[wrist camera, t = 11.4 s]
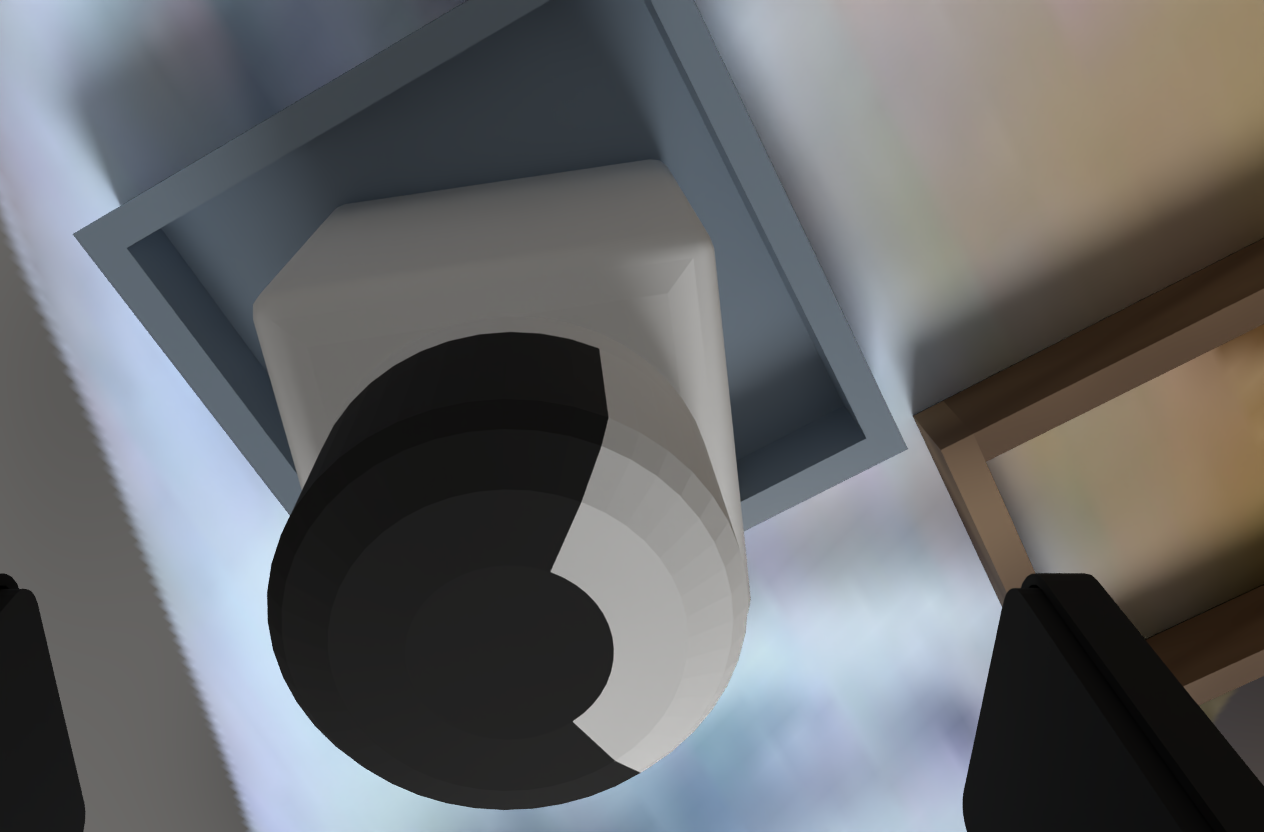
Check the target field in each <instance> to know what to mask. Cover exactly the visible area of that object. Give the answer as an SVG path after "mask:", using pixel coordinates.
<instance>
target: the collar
mask: <svg viewBox="0 0 1264 832" xmlns="http://www.w3.org/2000/svg"><path fill="white" fill-rule="evenodd" d="M1262 324H1264V239H1262V240H1260V241H1258V242H1256V243H1254V244H1252V245H1250V246H1248V247H1246V248H1244V249H1242V250H1240V251H1238V252H1236V253H1234V254H1232V255H1230V256H1228V257H1226V258H1224V259H1222V260H1220V261H1218V262H1216V263H1214V264H1212V265H1210V266H1208V267H1206V268H1204V269H1202V270H1200V271H1198V272H1196V273H1194V274H1192V275H1191V276H1189V277H1187V278H1185V279H1183V280H1181V281H1179V282H1177V283H1175V284H1173V285H1171V286H1169V287H1167V288H1165V289H1163V290H1161V291H1159V292H1157V293H1155V294H1153V295H1151V296H1149V297H1147V298H1145V299H1143V300H1141V301H1139V302H1137V303H1135V304H1133V305H1131V306H1129V307H1127V308H1125V309H1123V310H1121V311H1119V312H1117V313H1115V314H1113V315H1111V316H1110V317H1108V318H1106V319H1104V320H1102V321H1100V322H1098V323H1096V324H1094V325H1092V326H1090V327H1088V328H1086V329H1084V330H1082V331H1080V332H1078V333H1076V334H1074V335H1072V336H1070V337H1068V338H1066V339H1064V340H1062V341H1060V342H1058V343H1056V344H1054V345H1052V346H1050V347H1048V348H1046V349H1044V350H1042V351H1040V352H1038V353H1036V354H1034V355H1032V356H1030V357H1029V358H1027V359H1025V360H1023V361H1021V362H1019V363H1017V364H1015V365H1013V366H1011V367H1009V368H1007V369H1005V370H1003V371H1001V372H999V373H997V374H995V375H993V376H991V377H989V378H987V379H985V380H983V381H981V382H979V383H977V384H975V385H973V386H971V387H969V388H967V389H965V390H963V391H961V392H959V393H957V394H955V395H953V396H951V397H949V398H948V399H946V400H944V401H942V402H940V403H938V404H936V405H934V406H932V407H930V408H928V409H926V410H924V411H922V412H920V413H918V414H916V415H914V416H913V417H914V419H915V422H916V424H917V426H918V428H919V430H920V432H921V434H922V436H923V439H924V441H925V443H926V445H927V447H928V449H929V451H930V454H931V456H932V458H933V460H934V462H935V464H936V466H937V469H938V471H939V473H940V475H941V477H942V479H943V481H944V484H945V486H946V488H947V490H948V492H949V494H950V496H951V498H952V501H953V503H954V505H955V507H956V509H957V511H958V513H959V516H960V518H961V520H962V522H963V524H964V526H965V528H966V531H967V533H968V535H969V537H970V539H971V541H972V543H973V546H974V548H975V550H976V552H977V554H978V556H979V558H980V560H981V563H982V565H983V567H984V569H985V571H986V573H987V575H988V578H989V580H990V582H991V584H992V586H993V588H994V590H995V593H996V595H997V597H998V599H999V601H1000V603H1001V605H1002V606H1003V602H1004V598H1005V595H1006V594H1007V592H1008V591H1009V590H1010V589H1012V588H1021V586H1022V583H1023V581H1024V580H1025V578H1026V577H1027V576H1028V575H1030V574H1032V573H1035V571H1034V569H1033V567H1032V565H1031V562H1030V560H1029V558H1028V556H1027V553H1026V551H1025V549H1024V547H1023V544H1022V542H1021V540H1020V538H1019V535H1018V533H1017V531H1016V529H1015V526H1014V524H1013V522H1012V520H1011V517H1010V515H1009V513H1008V511H1007V508H1006V506H1005V504H1004V502H1003V499H1002V497H1001V495H1000V493H999V490H998V488H997V486H996V484H995V481H994V479H993V477H992V475H991V472H990V470H989V468H988V466H987V463H986V461H988V460H990V459H992V458H994V457H996V456H998V455H1000V454H1002V453H1004V452H1006V451H1008V450H1010V449H1012V448H1014V447H1016V446H1018V445H1020V444H1022V443H1024V442H1026V441H1029V440H1031V439H1033V438H1035V437H1037V436H1039V435H1041V434H1043V433H1045V432H1047V431H1049V430H1051V429H1053V428H1055V427H1057V426H1059V425H1061V424H1063V423H1065V422H1067V421H1069V420H1071V419H1073V418H1075V417H1077V416H1079V415H1081V414H1083V413H1085V412H1087V411H1089V410H1091V409H1093V408H1095V407H1097V406H1099V405H1101V404H1103V403H1105V402H1107V401H1109V400H1111V399H1113V398H1115V397H1117V396H1119V395H1121V394H1123V393H1125V392H1127V391H1129V390H1131V389H1133V388H1135V387H1137V386H1139V385H1141V384H1143V383H1145V382H1148V381H1150V380H1152V379H1154V378H1156V377H1158V376H1160V375H1162V374H1164V373H1166V372H1168V371H1170V370H1172V369H1174V368H1176V367H1178V366H1180V365H1182V364H1184V363H1186V362H1188V361H1190V360H1192V359H1194V358H1196V357H1198V356H1200V355H1202V354H1204V353H1206V352H1208V351H1210V350H1212V349H1214V348H1216V347H1218V346H1220V345H1222V344H1224V343H1226V342H1228V341H1230V340H1232V339H1234V338H1236V337H1238V336H1240V335H1242V334H1244V333H1246V332H1248V331H1250V330H1252V329H1254V328H1256V327H1258V326H1260V325H1262ZM1146 641H1147V642H1148V644H1149V645H1150V646H1151V647H1152V649H1153V650H1154V651H1155V652H1156V654H1157V655H1158V656H1159V657H1160V659H1161V660H1162V661H1163V662H1164V663H1165V665H1166V666H1167V667H1168V668H1169V670H1170V671H1171V672H1172V673H1173V675H1174V676H1175V677H1176V678H1177V680H1178V681H1179V682H1180V683H1181V684H1182V686H1183V687H1184V688H1185V689H1186V691H1187V692H1188V693H1189V694H1190V696H1191V697H1192V698H1193V699H1194V701H1195V702H1196V703H1197V704H1198V705H1200V704H1203V703H1205V702H1207V701H1209V700H1211V699H1214V698H1216V697H1218V696H1220V695H1222V694H1225V693H1227V692H1229V691H1231V690H1233V689H1236V688H1238V687H1240V686H1242V685H1244V684H1247V683H1249V682H1251V681H1253V680H1256V679H1258V678H1260V677H1262V676H1264V585H1263V586H1261V587H1258V588H1256V589H1254V590H1252V591H1250V592H1248V593H1245V594H1243V595H1241V596H1239V597H1237V598H1235V599H1233V600H1230V601H1228V602H1226V603H1224V604H1222V605H1220V606H1217V607H1215V608H1213V609H1211V610H1209V611H1207V612H1205V613H1202V614H1200V615H1198V616H1196V617H1194V618H1192V619H1189V620H1187V621H1185V622H1183V623H1181V624H1179V625H1177V626H1174V627H1172V628H1170V629H1168V630H1166V631H1164V632H1161V633H1159V634H1157V635H1155V636H1153V637H1151V638H1149V639H1146Z"/></svg>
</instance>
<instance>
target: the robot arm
mask: <svg viewBox="0 0 1264 832" xmlns="http://www.w3.org/2000/svg"><path fill="white" fill-rule="evenodd" d="M963 816H964V822H965V826H966V830H967V832H1264V786H1263V785H1262V783H1261V782H1260V781H1259V780H1258V778H1257V777H1256V776H1255V775H1254V774H1253V772H1252V771H1251V770H1250V769H1249V767H1248V766H1247V765H1246V764H1245V762H1244V761H1243V760H1242V759H1241V757H1240V756H1239V755H1238V754H1237V752H1236V751H1235V750H1234V749H1233V748H1232V746H1231V745H1230V744H1229V743H1228V741H1227V740H1226V739H1225V738H1224V736H1223V735H1222V734H1221V733H1220V731H1219V730H1218V729H1217V728H1216V726H1215V725H1214V724H1213V723H1212V722H1211V720H1210V719H1209V718H1208V717H1207V715H1206V714H1205V713H1204V712H1203V710H1202V709H1201V708H1200V707H1199V705H1198V704H1197V703H1196V702H1195V701H1194V699H1193V698H1192V697H1191V696H1190V694H1189V693H1188V692H1187V691H1186V689H1185V688H1184V687H1183V686H1182V684H1181V683H1180V682H1179V681H1178V680H1177V678H1176V677H1175V676H1174V675H1173V673H1172V672H1171V671H1170V670H1169V668H1168V667H1167V666H1166V665H1165V663H1164V662H1163V661H1162V660H1161V659H1160V657H1159V656H1158V655H1157V654H1156V652H1155V651H1154V650H1153V649H1152V647H1151V646H1150V645H1149V644H1148V642H1147V641H1146V640H1145V639H1144V638H1143V636H1142V635H1141V634H1140V633H1139V631H1138V630H1137V629H1136V628H1135V626H1134V625H1133V624H1132V623H1131V621H1130V620H1129V619H1128V618H1127V616H1126V615H1125V614H1124V613H1123V612H1122V610H1121V609H1120V608H1119V607H1118V605H1117V604H1116V603H1115V602H1114V600H1113V599H1112V598H1111V597H1110V595H1109V594H1108V593H1107V592H1106V591H1105V589H1104V588H1103V587H1102V586H1101V584H1100V583H1099V582H1098V581H1097V580H1096V579H1095V578H1094V577H1093V576H1092V575H1089V574H1085V573H1032V574H1030V575H1028V576H1027V577H1026V578H1025V580H1024V581H1023V583H1022V586H1021V588H1012V589H1010V590H1009V591H1008V592H1007V594H1006V595H1005V598H1004V602H1003V606H1002V611H1001V616H1000V620H999V625H998V630H997V635H996V640H995V644H994V649H993V654H992V659H991V663H990V668H989V673H988V678H987V683H986V687H985V692H984V697H983V702H982V707H981V711H980V716H979V721H978V726H977V730H976V735H975V740H974V745H973V750H972V754H971V759H970V764H969V769H968V773H967V778H966V783H965V788H964V793H963ZM84 824H85V805H84V800H83V796H82V791H81V787H80V783H79V779H78V774H77V770H76V766H75V762H74V757H73V753H72V749H71V744H70V740H69V736H68V731H67V727H66V723H65V719H64V714H63V710H62V706H61V701H60V697H59V693H58V689H57V685H56V680H55V676H54V672H53V667H52V663H51V659H50V655H49V650H48V646H47V641H46V637H45V633H44V629H43V624H42V620H41V616H40V612H39V607H38V603H37V601H36V598H35V596H34V594H33V593H32V592H31V591H30V590H27V589H19V588H18V585H17V583H16V582H15V580H14V579H13V578H12V577H11V576H9V575H7V574H0V832H83V830H84Z"/></svg>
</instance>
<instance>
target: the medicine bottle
mask: <svg viewBox="0 0 1264 832" xmlns="http://www.w3.org/2000/svg"><path fill="white" fill-rule="evenodd" d="M253 321H254V325H255V328H256V332H257V335H258V339H259V342H260V346H261V349H262V353H263V356H264V360H265V363H266V367H267V370H268V374H269V377H270V381H271V384H272V388H273V391H274V395H275V398H276V402H277V405H278V409H279V412H280V416H281V419H282V423H283V426H284V430H285V433H286V437H287V440H288V444H289V447H290V451H291V454H292V458H293V461H294V465H295V468H296V472H297V475H298V479H299V482H300V486H301V489H302V491H301V493H300V496H299V498H298V500H297V502H296V504H295V506H294V508H293V510H292V513H291V515H290V517H289V519H288V521H287V523H286V525H285V527H284V530H283V532H282V534H281V536H280V539H279V543H278V546H277V549H276V552H275V555H274V558H273V561H272V564H271V571H270V578H269V584H268V591H267V605H268V625H269V630H270V636H271V641H272V646H273V651H274V654H275V656H276V659H277V662H278V665H279V667H280V670H281V673H282V676H283V678H284V680H285V682H286V683H287V685H288V687H289V689H290V691H291V692H292V694H293V696H294V698H295V700H296V702H297V703H298V704H299V706H300V707H301V708H302V710H303V711H304V712H305V714H306V715H307V716H308V717H309V719H310V720H311V721H312V723H313V724H314V725H315V726H316V727H317V728H318V729H319V730H320V731H321V732H322V733H323V734H324V735H325V736H326V737H327V738H328V739H329V740H330V741H331V742H332V743H333V744H334V745H335V746H336V747H337V748H339V749H340V750H341V751H343V752H344V753H345V754H347V755H348V756H349V757H351V758H352V759H353V760H354V761H356V762H357V763H358V764H360V765H361V766H363V767H364V768H366V769H367V770H369V771H371V772H372V773H374V774H376V775H378V776H379V777H381V778H383V779H385V780H386V781H388V782H390V783H392V784H394V785H396V786H399V787H401V788H403V789H406V790H408V791H410V792H413V793H415V794H418V795H421V796H424V797H427V798H431V799H434V800H438V801H441V802H445V803H449V804H455V805H460V806H466V807H472V808H483V809H499V810H511V809H533V808H539V807H546V806H552V805H559V804H564V803H567V802H571V801H575V800H578V799H582V798H586V797H589V796H592V795H594V794H597V793H600V792H602V791H605V790H607V789H610V788H612V787H615V786H617V785H619V784H621V783H622V782H624V781H626V780H628V779H630V778H632V777H634V776H635V775H637V774H639V773H641V772H643V771H644V770H646V769H648V768H649V767H651V766H652V765H653V764H655V763H656V762H658V761H659V760H660V759H662V758H663V757H665V756H666V755H668V754H669V753H670V752H672V751H673V750H674V749H675V748H676V747H677V746H679V745H680V744H681V743H682V742H683V741H684V740H685V739H686V738H687V737H688V736H689V735H691V734H692V733H693V732H694V731H695V730H696V728H697V727H698V726H699V725H700V724H701V722H702V721H703V720H704V719H705V718H706V716H707V715H708V714H709V713H710V712H711V710H712V709H713V708H714V706H715V704H716V703H717V701H718V700H719V698H720V696H721V695H722V693H723V692H724V690H725V688H726V687H727V685H728V683H729V680H730V678H731V676H732V673H733V671H734V669H735V667H736V664H737V662H738V659H739V656H740V652H741V648H742V644H743V640H744V637H745V632H746V622H747V614H748V611H749V606H750V600H751V597H750V587H749V578H748V568H747V559H746V549H745V539H744V530H743V520H742V511H741V501H740V491H739V482H738V472H737V463H736V453H735V443H734V434H733V424H732V415H731V405H730V395H729V386H728V376H727V367H726V357H725V347H724V338H723V328H722V318H721V309H720V299H719V290H718V280H717V270H716V261H715V251H714V246H713V244H712V241H711V239H710V236H709V235H708V233H707V231H706V230H705V228H704V226H703V225H702V223H701V221H700V220H699V218H698V217H697V215H696V213H695V212H694V210H693V208H692V207H691V205H690V203H689V202H688V200H687V198H686V197H685V195H684V193H683V192H682V190H681V189H680V187H679V185H678V184H677V182H676V180H675V179H674V177H673V175H672V174H671V172H670V170H669V169H668V167H667V166H666V165H665V164H664V163H662V162H661V161H660V160H653V159H648V160H641V161H635V162H628V163H621V164H614V165H608V166H601V167H594V168H587V169H580V170H574V171H567V172H560V173H553V174H546V175H540V176H533V177H526V178H519V179H512V180H506V181H499V182H492V183H485V184H478V185H472V186H465V187H458V188H451V189H445V190H438V191H431V192H424V193H417V194H411V195H404V196H397V197H390V198H383V199H377V200H370V201H363V202H356V203H349V204H344V205H342V206H339V207H337V208H336V209H335V210H334V211H333V212H332V213H331V214H330V215H329V217H328V218H327V219H326V220H325V221H324V222H323V223H322V224H321V226H320V227H319V228H318V229H317V230H316V231H315V232H314V233H313V235H312V236H311V237H310V238H309V239H308V240H307V241H306V243H305V244H304V245H303V246H302V247H301V248H300V249H299V250H298V252H297V253H296V254H295V255H294V256H293V257H292V258H291V260H290V261H289V262H288V263H287V264H286V265H285V266H284V267H283V269H282V270H281V271H280V272H279V273H278V274H277V275H276V276H275V278H274V279H273V280H272V281H271V282H270V283H269V284H268V286H267V287H266V288H265V289H264V290H263V291H262V292H261V293H260V295H259V296H258V298H257V299H256V301H255V302H254V304H253Z"/></svg>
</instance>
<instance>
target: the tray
mask: <svg viewBox="0 0 1264 832" xmlns="http://www.w3.org/2000/svg"><path fill="white" fill-rule="evenodd" d="M648 159H653V160H660V161H661V162H662V163H664V164H665V165H666V166H667V167H668V169H669V170H670V172H671V174H672V175H673V177H674V179H675V180H676V182H677V184H678V185H679V187H680V189H681V190H682V192H683V193H684V195H685V197H686V198H687V200H688V202H689V203H690V205H691V207H692V208H693V210H694V212H695V213H696V215H697V217H698V218H699V220H700V221H701V223H702V225H703V226H704V228H705V230H706V231H707V233H708V235H709V236H710V239H711V241H712V244H713V246H714V251H715V261H716V270H717V280H718V290H719V299H720V309H721V318H722V328H723V338H724V347H725V357H726V367H727V376H728V386H729V395H730V405H731V415H732V424H733V434H734V443H735V453H736V463H737V472H738V482H739V491H740V501H741V511H742V520H743V530H744V531H746V530H748V529H749V528H751V527H753V526H755V525H757V524H759V523H761V522H763V521H765V520H767V519H769V518H771V517H773V516H775V515H777V514H779V513H781V512H783V511H785V510H787V509H789V508H791V507H793V506H795V505H797V504H799V503H801V502H803V501H805V500H807V499H809V498H811V497H813V496H815V495H817V494H819V493H821V492H823V491H825V490H827V489H829V488H831V487H833V486H835V485H837V484H839V483H841V482H843V481H845V480H847V479H849V478H851V477H853V476H855V475H857V474H859V473H861V472H863V471H865V470H867V469H869V468H871V467H873V466H875V465H877V464H879V463H881V462H883V461H885V460H887V459H889V458H891V457H893V456H895V455H897V454H899V453H901V452H903V451H905V450H907V449H908V448H907V446H906V444H905V442H904V440H903V438H902V436H901V434H900V432H899V429H898V427H897V425H896V423H895V421H894V419H893V417H892V415H891V413H890V411H889V409H888V406H887V404H886V402H885V400H884V398H883V396H882V394H881V392H880V390H879V388H878V385H877V383H876V381H875V379H874V377H873V375H872V373H871V371H870V369H869V367H868V364H867V362H866V360H865V358H864V356H863V354H862V352H861V350H860V348H859V346H858V344H857V341H856V339H855V337H854V335H853V333H852V331H851V329H850V327H849V325H848V323H847V320H846V318H845V316H844V314H843V312H842V310H841V308H840V306H839V304H838V302H837V299H836V297H835V295H834V293H833V291H832V289H831V287H830V285H829V283H828V281H827V278H826V276H825V274H824V272H823V270H822V268H821V266H820V264H819V262H818V260H817V258H816V255H815V253H814V251H813V249H812V247H811V245H810V243H809V241H808V239H807V237H806V234H805V232H804V230H803V228H802V226H801V224H800V222H799V220H798V218H797V216H796V213H795V211H794V209H793V207H792V205H791V203H790V201H789V199H788V197H787V195H786V193H785V190H784V188H783V186H782V184H781V182H780V180H779V178H778V176H777V174H776V172H775V169H774V167H773V165H772V163H771V161H770V159H769V157H768V155H767V153H766V151H765V148H764V146H763V144H762V142H761V140H760V138H759V136H758V134H757V132H756V130H755V127H754V125H753V123H752V121H751V119H750V117H749V115H748V113H747V111H746V109H745V107H744V104H743V102H742V100H741V98H740V96H739V94H738V92H737V90H736V88H735V86H734V83H733V81H732V79H731V77H730V75H729V73H728V71H727V69H726V67H725V65H724V62H723V60H722V58H721V56H720V54H719V52H718V50H717V48H716V46H715V44H714V42H713V39H712V37H711V35H710V33H709V31H708V29H707V27H706V25H705V23H704V21H703V18H702V16H701V14H700V12H699V10H698V8H697V6H696V4H695V2H694V0H468V1H466V2H464V3H463V4H461V5H459V6H457V7H456V8H454V9H452V10H451V11H449V12H447V13H446V14H444V15H442V16H441V17H439V18H437V19H435V20H434V21H432V22H430V23H429V24H427V25H425V26H424V27H422V28H420V29H419V30H417V31H415V32H414V33H412V34H410V35H408V36H407V37H405V38H403V39H402V40H400V41H398V42H397V43H395V44H393V45H392V46H390V47H388V48H387V49H385V50H383V51H381V52H380V53H378V54H376V55H375V56H373V57H371V58H370V59H368V60H366V61H365V62H363V63H361V64H359V65H358V66H356V67H354V68H353V69H351V70H349V71H348V72H346V73H344V74H343V75H341V76H339V77H338V78H336V79H334V80H332V81H331V82H329V83H327V84H326V85H324V86H322V87H321V88H319V89H317V90H316V91H314V92H312V93H310V94H309V95H307V96H305V97H304V98H302V99H300V100H299V101H297V102H295V103H294V104H292V105H290V106H289V107H287V108H285V109H283V110H282V111H280V112H278V113H277V114H275V115H273V116H272V117H270V118H268V119H267V120H265V121H263V122H261V123H260V124H258V125H256V126H255V127H253V128H251V129H250V130H248V131H246V132H245V133H243V134H241V135H240V136H238V137H236V138H234V139H233V140H231V141H229V142H228V143H226V144H224V145H223V146H221V147H219V148H218V149H216V150H214V151H213V152H211V153H209V154H207V155H206V156H204V157H202V158H201V159H199V160H197V161H196V162H194V163H192V164H191V165H189V166H187V167H185V168H184V169H182V170H180V171H179V172H177V173H175V174H174V175H172V176H170V177H169V178H167V179H165V180H164V181H162V182H160V183H158V184H157V185H155V186H153V187H152V188H150V189H148V190H147V191H145V192H143V193H142V194H140V195H138V196H136V197H135V198H133V199H131V200H130V201H128V202H126V203H125V204H123V205H121V206H120V207H118V208H116V209H115V210H113V211H111V212H109V213H108V214H106V215H104V216H103V217H101V218H99V219H98V220H96V221H94V222H93V223H91V224H89V225H87V226H86V227H84V228H82V229H81V230H79V231H77V232H76V233H74V234H73V235H74V237H75V238H76V239H77V240H78V242H79V243H80V244H81V246H82V247H83V248H84V250H85V251H86V252H87V253H88V255H89V256H90V257H91V259H92V260H93V261H94V262H95V264H96V265H97V266H98V268H99V269H100V270H101V272H102V273H103V274H104V275H105V277H106V278H107V279H108V281H109V282H110V283H111V284H112V286H113V287H114V288H115V290H116V291H117V292H118V294H119V295H120V296H121V297H122V299H123V300H124V301H125V303H126V304H127V305H128V306H129V308H130V309H131V310H132V312H133V313H134V314H135V316H136V317H137V318H138V319H139V321H140V322H141V323H142V325H143V326H144V327H145V329H146V330H147V331H148V332H149V334H150V335H151V336H152V338H153V339H154V340H155V341H156V343H157V344H158V345H159V347H160V348H161V349H162V351H163V352H164V353H165V354H166V356H167V357H168V358H169V360H170V361H171V362H172V363H173V365H174V366H175V367H176V369H177V370H178V371H179V373H180V374H181V375H182V376H183V378H184V379H185V380H186V382H187V383H188V384H189V386H190V387H191V388H192V389H193V391H194V392H195V393H196V395H197V396H198V397H199V398H200V400H201V401H202V402H203V404H204V405H205V406H206V408H207V409H208V410H209V411H210V413H211V414H212V415H213V417H214V418H215V419H216V420H217V422H218V423H219V424H220V426H221V427H222V428H223V430H224V431H225V432H226V433H227V435H228V436H229V437H230V439H231V440H232V441H233V443H234V444H235V445H236V446H237V448H238V449H239V450H240V452H241V453H242V454H243V455H244V457H245V458H246V459H247V461H248V462H249V463H250V465H251V466H252V467H253V468H254V470H255V471H256V472H257V474H258V475H259V476H260V477H261V479H262V480H263V481H264V483H265V484H266V485H267V487H268V488H269V489H270V490H271V492H272V493H273V494H274V496H275V497H276V498H277V499H278V501H279V502H280V503H281V505H282V506H283V507H284V509H285V510H286V511H287V512H288V514H289V515H291V513H292V510H293V508H294V506H295V504H296V502H297V500H298V498H299V496H300V493H301V491H302V489H301V486H300V482H299V479H298V475H297V472H296V468H295V465H294V461H293V458H292V454H291V451H290V447H289V444H288V440H287V437H286V433H285V430H284V426H283V423H282V419H281V416H280V412H279V409H278V405H277V402H276V398H275V395H274V391H273V388H272V384H271V381H270V377H269V374H268V370H267V367H266V363H265V360H264V356H263V353H262V349H261V346H260V342H259V339H258V335H257V332H256V328H255V325H254V321H253V304H254V302H255V301H256V299H257V298H258V296H259V295H260V293H261V292H262V291H263V290H264V289H265V288H266V287H267V286H268V284H269V283H270V282H271V281H272V280H273V279H274V278H275V276H276V275H277V274H278V273H279V272H280V271H281V270H282V269H283V267H284V266H285V265H286V264H287V263H288V262H289V261H290V260H291V258H292V257H293V256H294V255H295V254H296V253H297V252H298V250H299V249H300V248H301V247H302V246H303V245H304V244H305V243H306V241H307V240H308V239H309V238H310V237H311V236H312V235H313V233H314V232H315V231H316V230H317V229H318V228H319V227H320V226H321V224H322V223H323V222H324V221H325V220H326V219H327V218H328V217H329V215H330V214H331V213H332V212H333V211H334V210H335V209H336V208H337V207H339V206H342V205H344V204H349V203H356V202H363V201H370V200H377V199H383V198H390V197H397V196H404V195H411V194H417V193H424V192H431V191H438V190H445V189H451V188H458V187H465V186H472V185H478V184H485V183H492V182H499V181H506V180H512V179H519V178H526V177H533V176H540V175H546V174H553V173H560V172H567V171H574V170H580V169H587V168H594V167H601V166H608V165H614V164H621V163H628V162H635V161H641V160H648Z"/></svg>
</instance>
